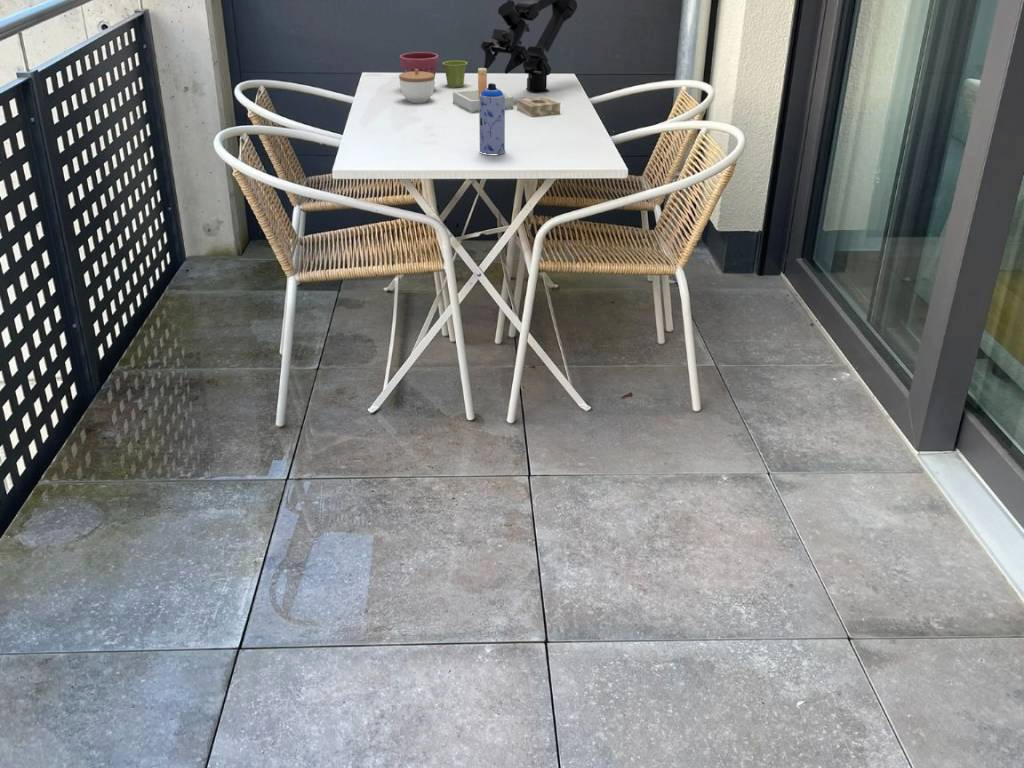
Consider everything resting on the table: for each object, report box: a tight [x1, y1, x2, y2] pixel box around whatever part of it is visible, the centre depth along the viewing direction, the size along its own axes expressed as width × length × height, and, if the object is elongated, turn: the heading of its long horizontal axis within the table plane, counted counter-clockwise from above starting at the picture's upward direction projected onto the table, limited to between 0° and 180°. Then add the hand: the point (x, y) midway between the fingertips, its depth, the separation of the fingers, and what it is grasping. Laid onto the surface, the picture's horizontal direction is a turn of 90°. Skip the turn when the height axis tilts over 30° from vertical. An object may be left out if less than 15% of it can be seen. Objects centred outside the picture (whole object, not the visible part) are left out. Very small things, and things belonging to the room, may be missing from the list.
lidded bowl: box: [398, 69, 436, 104], centre depth 361 cm, size 13×13×11 cm
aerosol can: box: [478, 83, 506, 155], centre depth 298 cm, size 8×8×20 cm
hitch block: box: [516, 96, 561, 118], centre depth 349 cm, size 11×11×4 cm
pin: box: [477, 67, 488, 100], centre depth 354 cm, size 3×3×12 cm
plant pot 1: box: [399, 51, 440, 80], centre depth 376 cm, size 14×14×13 cm
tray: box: [452, 89, 514, 113], centre depth 356 cm, size 16×16×4 cm
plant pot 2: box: [442, 60, 468, 88], centre depth 384 cm, size 9×9×9 cm
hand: (495, 71), depth 357 cm, fingers open, 9 cm apart
